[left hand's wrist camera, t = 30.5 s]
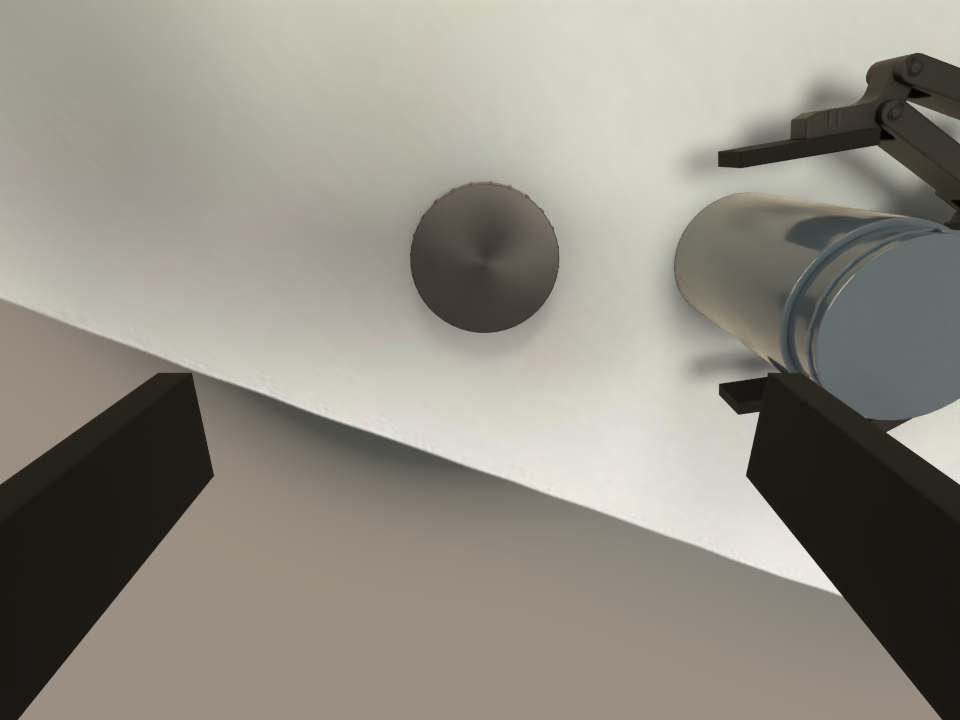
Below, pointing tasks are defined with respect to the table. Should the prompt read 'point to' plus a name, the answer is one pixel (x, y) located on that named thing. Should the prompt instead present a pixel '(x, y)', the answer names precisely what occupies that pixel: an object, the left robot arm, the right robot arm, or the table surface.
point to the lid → (484, 257)
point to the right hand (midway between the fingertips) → (727, 289)
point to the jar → (833, 296)
